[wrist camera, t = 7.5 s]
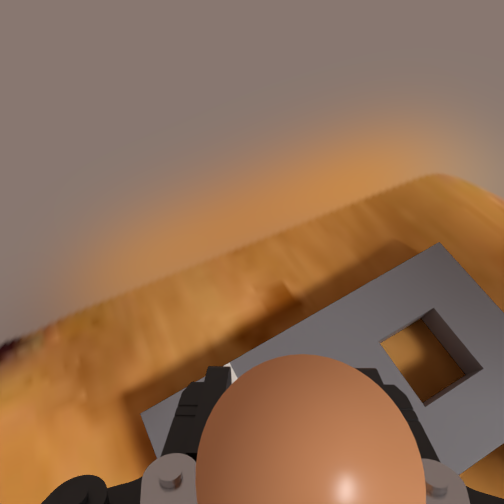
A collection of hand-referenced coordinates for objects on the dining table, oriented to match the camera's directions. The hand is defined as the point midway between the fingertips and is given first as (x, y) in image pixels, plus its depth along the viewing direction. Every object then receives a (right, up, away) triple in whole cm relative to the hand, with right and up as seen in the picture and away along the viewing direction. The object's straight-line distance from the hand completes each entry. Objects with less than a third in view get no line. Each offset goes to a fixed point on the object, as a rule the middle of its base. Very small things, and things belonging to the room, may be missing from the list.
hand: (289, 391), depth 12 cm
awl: (0, -5, +5) cm, 7 cm away
